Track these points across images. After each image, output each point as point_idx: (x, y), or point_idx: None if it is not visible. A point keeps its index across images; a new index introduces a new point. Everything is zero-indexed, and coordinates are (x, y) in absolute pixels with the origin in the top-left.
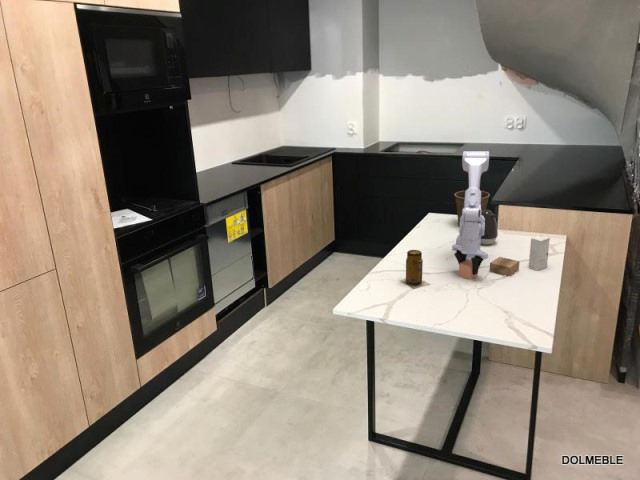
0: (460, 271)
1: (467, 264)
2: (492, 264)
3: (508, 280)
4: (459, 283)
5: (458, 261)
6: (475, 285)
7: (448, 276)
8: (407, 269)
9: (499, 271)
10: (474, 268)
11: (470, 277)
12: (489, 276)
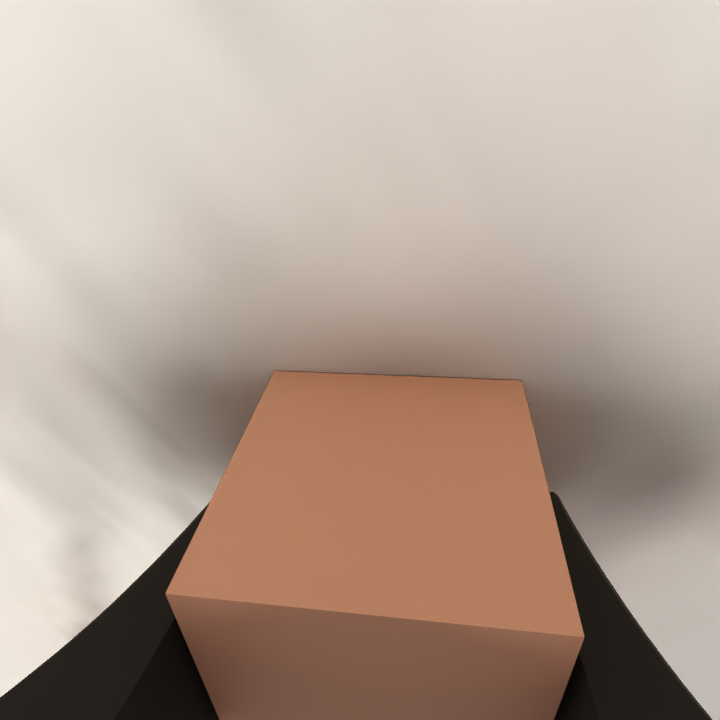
0: (497, 441)
1: (342, 659)
2: None
3: (6, 577)
4: (253, 39)
5: (671, 705)
6: (13, 216)
7: (702, 202)
8: None
9: None
10: (138, 584)
11: (266, 397)
12: None
